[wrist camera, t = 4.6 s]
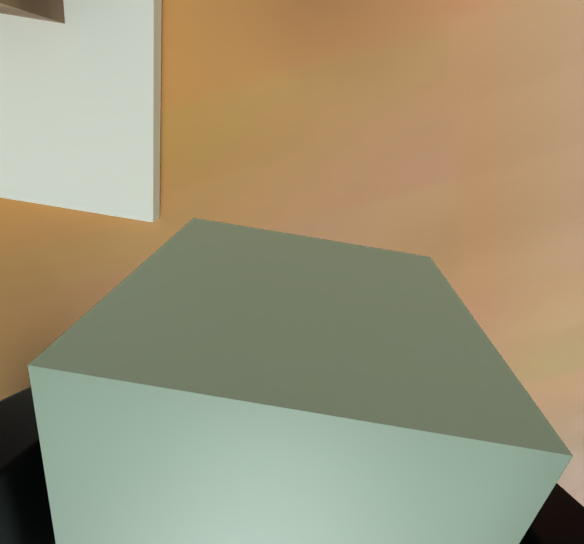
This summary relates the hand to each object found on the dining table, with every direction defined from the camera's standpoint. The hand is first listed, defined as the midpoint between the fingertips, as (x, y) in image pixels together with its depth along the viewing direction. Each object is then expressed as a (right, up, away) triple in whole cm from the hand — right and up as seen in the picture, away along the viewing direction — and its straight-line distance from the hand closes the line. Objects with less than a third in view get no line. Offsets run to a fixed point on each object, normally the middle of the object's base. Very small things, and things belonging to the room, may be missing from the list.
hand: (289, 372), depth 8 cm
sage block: (0, +1, +1) cm, 1 cm away
